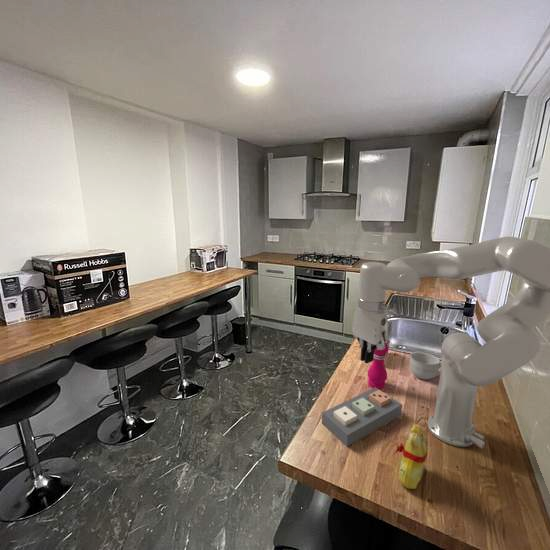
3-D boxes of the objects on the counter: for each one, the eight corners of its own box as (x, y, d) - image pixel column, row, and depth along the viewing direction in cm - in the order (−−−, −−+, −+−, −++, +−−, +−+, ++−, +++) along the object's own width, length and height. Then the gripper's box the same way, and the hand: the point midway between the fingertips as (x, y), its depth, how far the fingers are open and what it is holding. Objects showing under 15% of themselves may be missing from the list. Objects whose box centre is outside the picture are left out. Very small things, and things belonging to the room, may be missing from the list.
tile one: (356, 425, 90) (357, 414, 89) (344, 431, 87) (345, 421, 87) (344, 415, 94) (345, 405, 93) (333, 421, 92) (333, 411, 91)
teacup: (403, 374, 120) (405, 357, 118) (415, 365, 127) (417, 348, 125) (440, 390, 110) (443, 371, 108) (450, 378, 117) (453, 360, 115)
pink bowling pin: (387, 391, 109) (392, 342, 104) (367, 389, 111) (371, 340, 106) (384, 380, 116) (389, 334, 111) (365, 378, 117) (369, 332, 113)
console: (401, 414, 97) (402, 404, 96) (346, 446, 84) (347, 435, 83) (374, 396, 106) (375, 387, 105) (321, 423, 93) (322, 412, 92)
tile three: (390, 406, 98) (391, 397, 97) (380, 412, 96) (381, 402, 95) (377, 398, 102) (378, 389, 101) (368, 403, 100) (368, 394, 99)
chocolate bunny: (427, 465, 78) (434, 417, 75) (416, 496, 70) (423, 444, 66) (401, 452, 82) (406, 406, 79) (387, 479, 74) (392, 429, 71)
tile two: (374, 415, 94) (374, 405, 93) (363, 421, 91) (364, 411, 91) (362, 406, 98) (362, 397, 97) (351, 412, 96) (352, 402, 95)
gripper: (402, 309, 82) (395, 368, 86) (360, 295, 94) (356, 347, 99) (384, 314, 78) (378, 376, 82) (343, 299, 91) (340, 353, 95)
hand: (366, 360), depth 90 cm, fingers closed
